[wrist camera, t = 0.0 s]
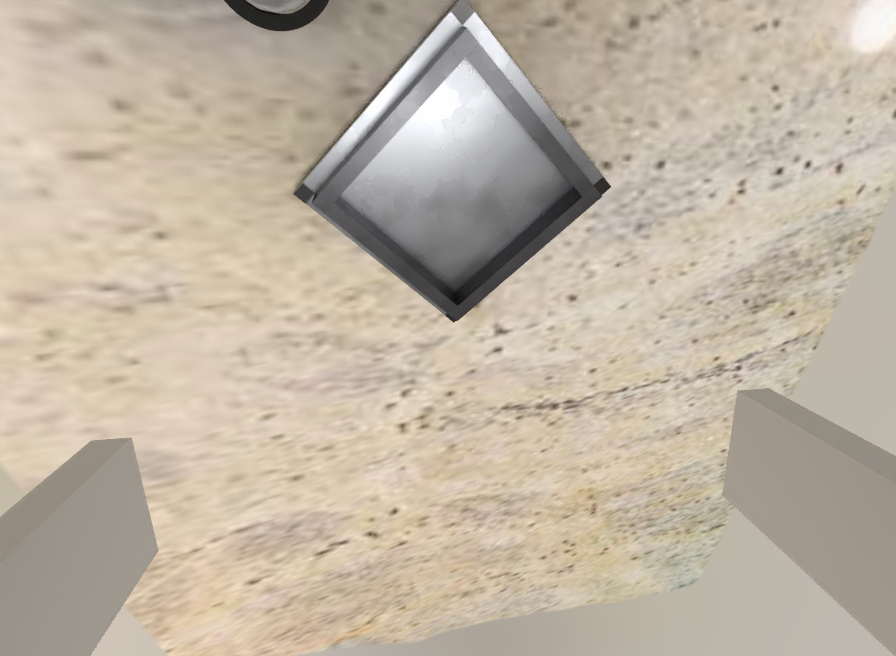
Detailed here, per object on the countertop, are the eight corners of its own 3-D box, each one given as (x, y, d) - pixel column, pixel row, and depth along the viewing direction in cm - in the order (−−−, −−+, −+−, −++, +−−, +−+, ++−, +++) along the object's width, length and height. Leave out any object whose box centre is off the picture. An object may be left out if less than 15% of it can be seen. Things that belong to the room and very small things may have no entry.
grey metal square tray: (460, -4, 29) (468, -3, 26) (604, 181, 37) (621, 195, 34) (296, 187, 34) (289, 203, 32) (451, 313, 42) (456, 335, 39)
